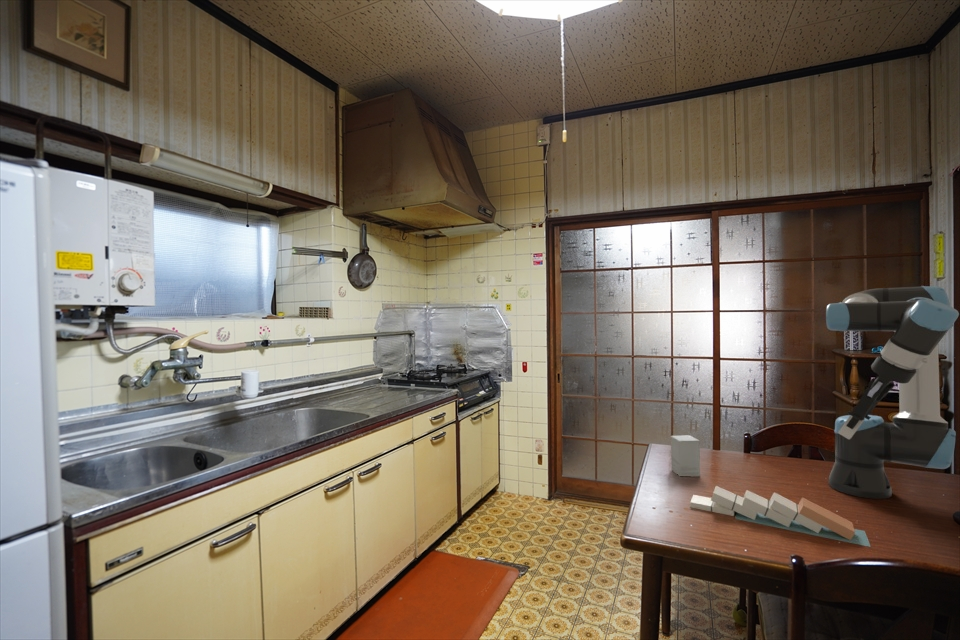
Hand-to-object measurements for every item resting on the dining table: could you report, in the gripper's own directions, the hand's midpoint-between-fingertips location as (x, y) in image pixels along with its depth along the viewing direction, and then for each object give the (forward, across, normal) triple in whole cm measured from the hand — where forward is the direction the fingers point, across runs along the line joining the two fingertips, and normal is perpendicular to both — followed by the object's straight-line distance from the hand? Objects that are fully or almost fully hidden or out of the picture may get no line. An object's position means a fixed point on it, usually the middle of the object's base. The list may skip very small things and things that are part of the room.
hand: (844, 435), depth 116 cm
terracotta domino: (+17, -10, -13) cm, 23 cm away
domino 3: (+22, -14, -3) cm, 26 cm away
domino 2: (+25, -17, +4) cm, 31 cm away
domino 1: (+28, -19, +8) cm, 35 cm away
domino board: (+23, -14, -5) cm, 27 cm away
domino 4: (+20, -12, -8) cm, 24 cm away
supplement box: (+44, 0, +29) cm, 53 cm away
